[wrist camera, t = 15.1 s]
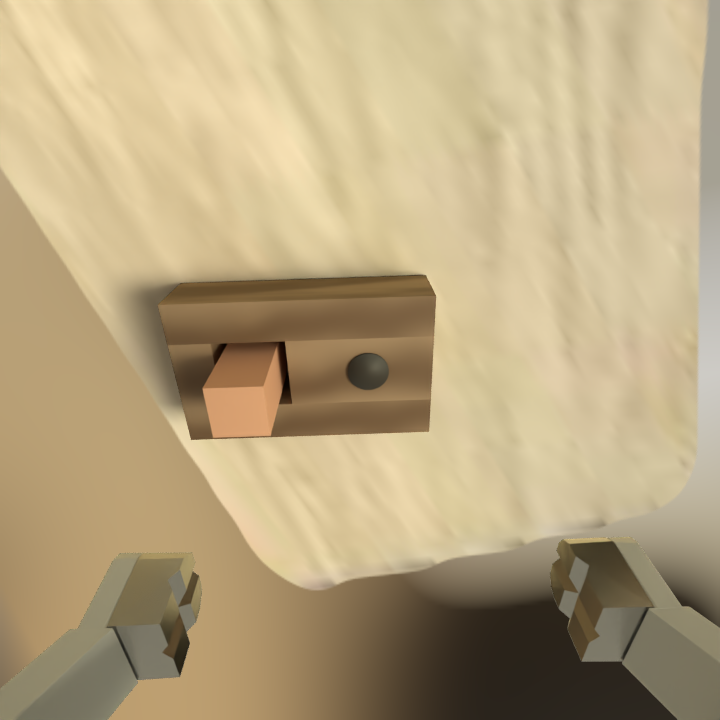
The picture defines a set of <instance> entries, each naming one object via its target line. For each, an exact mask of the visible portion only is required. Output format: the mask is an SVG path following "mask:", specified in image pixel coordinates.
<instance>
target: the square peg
mask: <svg viewBox="0 0 720 720" xmlns="http://www.w3.org/2000/svg"><path fill="white" fill-rule="evenodd" d="M287 370H288V363H287V355H286V346H285V341H280V342H250V343H228V344H227V346H226V347H225V349H224V351H223V353H222V355H221V356H220V358H219V360H218V362H217V363H216V365H215V367H214V369H213V371H212V372H211V374H210V376H209V378H208V379H207V381H206V383H205V385H204V387H203V388H202V389H203V394H204V398H205V403H206V407H207V412H208V416H209V421H210V425H211V430H212V435H213V438H221V437H250V436H271V432H272V428H273V424H274V421H275V417H276V413H277V409H278V405H279V401H280V397H281V393H282V389H283V386H284V382H285V378H286V374H287Z"/></svg>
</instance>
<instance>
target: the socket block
mask: <svg viewBox="0 0 720 720" xmlns="http://www.w3.org/2000/svg"><path fill="white" fill-rule="evenodd" d="M435 307H436V295H435V293H434V291H433V289H432V287H431V285H430V283H429V281H428V279H427V277H426V275H420V276H390V277H359V278H329V279H299V280H269V281H238V282H208V283H181V284H180V285H179V286H177V287H176V288H175V289H174V290H173V291H172V292H171V293H170V294H169V295H168V296H167V297H166V298H165V299H164V300H162V301H161V302H160V303H159V304H158V309H159V313H160V317H161V321H162V325H163V329H164V333H165V337H166V341H167V345H168V349H169V353H170V357H171V361H172V365H173V369H174V373H175V377H176V381H177V385H178V389H179V393H180V397H181V401H182V405H183V409H184V413H185V417H186V421H187V425H188V429H189V433H190V437H191V440H199V439H228V438H257V437H286V436H315V435H344V434H373V433H402V432H429V422H430V403H431V384H432V364H433V345H434V326H435ZM280 341H285V346H286V355H287V363H288V370H287V374H286V378H285V382H284V386H283V389H282V393H281V397H280V401H279V405H278V409H277V413H276V417H275V421H274V424H273V428H272V432H271V436H250V437H221V438H213V435H212V430H211V425H210V421H209V416H208V412H207V407H206V403H205V398H204V394H203V389H202V388H203V387H204V385H205V383H206V381H207V379H208V378H209V376H210V374H211V372H212V371H213V369H214V367H215V365H216V363H217V362H218V360H219V358H220V356H221V355H222V353H223V351H224V349H225V347H226V346H227V344H228V343H250V342H280Z"/></svg>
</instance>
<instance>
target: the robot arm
mask: <svg viewBox="0 0 720 720" xmlns="http://www.w3.org/2000/svg"><path fill="white" fill-rule="evenodd" d="M557 553H558V555H559V556H560V558H559V559H558V560H557V561H555V562H554V563H553V564H552V568H551V572H550V579H551V589H552V592H553V596H554V599H555V601H556V604H557V606H558V608H559V609H560V610H561V611H562V612H563V613H564V614H565V615H567V616H568V617H569V618H570V621H569V625H568V631H569V634H570V636H571V638H572V641H573V643H574V645H575V647H576V650H577V652H578V654H579V657H580V659H581V661H623V663H622V664H623V665H624V666H625V667H626V668H627V669H628V670H629V671H630V672H631V673H632V674H633V675H634V676H635V677H636V678H637V679H638V680H639V681H640V682H641V683H642V684H643V685H644V686H645V687H646V688H647V689H648V690H649V691H650V692H651V693H652V694H653V695H654V696H655V697H656V698H657V699H658V700H659V701H660V702H661V703H662V704H663V705H664V706H665V707H666V708H667V709H668V710H669V711H670V712H671V713H672V714H673V715H674V716H675V717H676V718H677V719H678V720H720V628H719V627H717V626H716V625H714V624H713V623H712V622H710V621H709V620H707V619H706V618H704V617H703V616H701V615H700V614H699V613H697V612H696V611H694V610H693V609H692V608H690V607H682V606H681V605H680V603H679V602H678V600H677V599H676V597H675V596H674V594H673V593H672V592H671V590H670V589H669V587H668V586H667V584H666V583H665V581H664V580H663V579H662V577H661V576H660V574H659V573H658V571H657V570H656V568H655V567H654V566H653V564H652V563H651V561H650V560H649V558H648V557H647V555H646V554H645V553H644V551H643V550H642V548H641V547H640V545H639V544H638V542H637V541H636V540H634V539H633V538H632V537H616V538H605V537H601V538H581V539H563V540H561V542H559V544H558V547H557ZM194 565H195V560H194V557H193V554H192V553H122V554H121V553H120V554H119V555H118V556H117V557H116V558H115V559H114V560H113V561H112V563H111V565H110V567H109V569H108V571H107V573H106V575H105V577H104V579H103V581H102V582H101V584H100V586H99V588H98V590H97V592H96V594H95V596H94V598H93V600H92V602H91V604H90V606H89V608H88V609H87V611H86V613H85V615H84V617H83V619H82V621H81V623H80V625H79V627H78V629H70V630H69V631H67V632H66V633H65V634H64V635H63V636H62V637H60V638H59V639H58V640H57V641H56V642H54V643H53V644H52V645H51V646H50V647H49V648H47V649H46V650H45V651H44V652H43V653H42V654H40V655H39V656H38V657H37V658H36V659H34V660H33V661H32V662H31V663H30V664H29V665H27V666H26V667H25V668H24V669H23V670H21V671H20V672H19V673H18V674H17V675H16V676H14V677H13V678H12V679H11V680H10V681H9V682H7V683H6V684H5V685H4V686H3V687H2V688H0V720H108V719H109V717H110V716H111V715H112V714H113V713H114V711H115V710H116V709H117V708H118V706H119V705H120V704H121V703H122V702H123V700H124V699H125V698H126V697H127V696H128V694H129V693H130V692H131V691H132V689H133V688H134V687H135V686H136V685H137V683H138V681H137V680H144V679H159V678H173V677H180V675H181V672H182V668H183V665H184V661H185V658H186V655H187V651H188V648H189V645H190V642H189V639H188V636H187V631H188V630H189V629H190V628H191V627H192V625H194V623H195V622H196V620H197V617H198V613H199V609H200V602H201V595H202V591H201V581H200V578H199V575H197V574H196V573H194V572H193V568H194Z"/></svg>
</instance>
